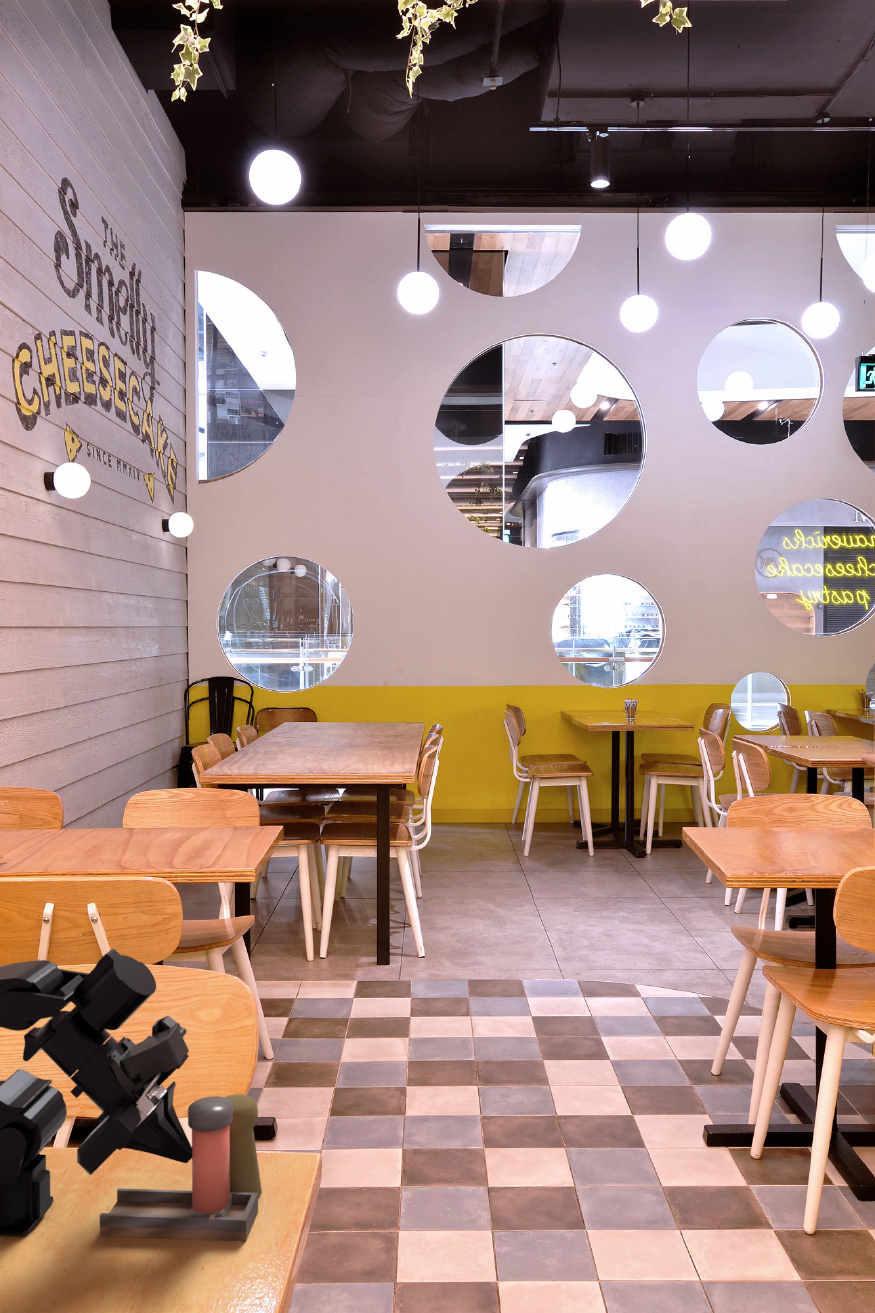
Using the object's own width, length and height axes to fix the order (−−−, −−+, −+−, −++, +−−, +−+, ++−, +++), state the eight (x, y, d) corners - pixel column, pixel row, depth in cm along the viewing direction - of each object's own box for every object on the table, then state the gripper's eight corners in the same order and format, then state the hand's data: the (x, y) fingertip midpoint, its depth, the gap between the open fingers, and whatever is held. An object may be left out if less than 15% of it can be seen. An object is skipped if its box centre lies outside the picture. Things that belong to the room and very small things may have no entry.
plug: (182, 1226, 99) (181, 1117, 99) (196, 1199, 104) (196, 1095, 104) (226, 1227, 99) (225, 1118, 99) (238, 1200, 103) (238, 1096, 103)
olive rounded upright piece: (249, 1213, 103) (249, 1115, 103) (199, 1206, 105) (199, 1109, 104) (269, 1182, 109) (269, 1089, 109) (222, 1176, 110) (222, 1085, 110)
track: (99, 1236, 99) (99, 1214, 99) (118, 1207, 104) (118, 1186, 104) (245, 1241, 98) (245, 1219, 98) (258, 1212, 104) (258, 1190, 103)
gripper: (105, 1042, 92) (215, 1155, 92) (170, 976, 111) (262, 1069, 110) (30, 1119, 93) (139, 1231, 92) (107, 1040, 111) (198, 1133, 111)
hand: (190, 1158), depth 101 cm, fingers closed, pressing on plug
